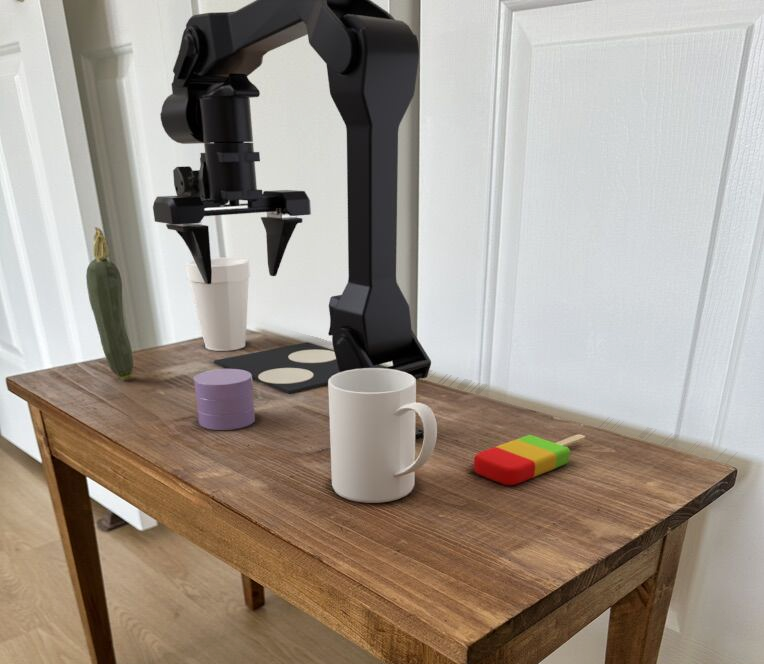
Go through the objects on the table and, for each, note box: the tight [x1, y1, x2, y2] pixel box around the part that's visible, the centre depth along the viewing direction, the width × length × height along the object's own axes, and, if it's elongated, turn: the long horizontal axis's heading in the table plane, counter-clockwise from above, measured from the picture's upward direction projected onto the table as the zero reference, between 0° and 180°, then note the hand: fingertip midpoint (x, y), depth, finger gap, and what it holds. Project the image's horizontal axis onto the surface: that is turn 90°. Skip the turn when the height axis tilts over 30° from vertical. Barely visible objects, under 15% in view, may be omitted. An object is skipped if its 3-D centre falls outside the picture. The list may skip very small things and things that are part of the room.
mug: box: [327, 368, 438, 504], centre depth 69 cm, size 12×8×10 cm, turn 38°
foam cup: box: [185, 257, 251, 352], centre depth 119 cm, size 10×9×13 cm
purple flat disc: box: [196, 405, 256, 431], centre depth 89 cm, size 7×7×2 cm
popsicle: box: [473, 433, 586, 486], centre depth 78 cm, size 6×15×2 cm, turn 131°
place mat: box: [213, 341, 387, 394], centre depth 111 cm, size 20×17×1 cm
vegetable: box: [85, 226, 134, 381], centre depth 100 cm, size 4×4×20 cm
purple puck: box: [194, 390, 255, 415], centre depth 89 cm, size 7×7×2 cm
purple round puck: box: [193, 368, 254, 400], centre depth 88 cm, size 7×7×2 cm
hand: (241, 279), depth 96 cm, fingers open, 9 cm apart
